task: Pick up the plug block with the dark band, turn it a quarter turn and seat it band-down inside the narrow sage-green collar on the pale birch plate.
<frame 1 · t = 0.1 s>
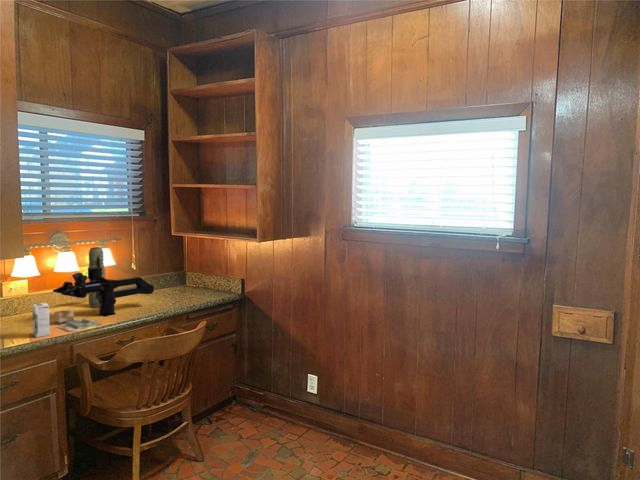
hand: (57, 292, 216), 17 cm above the table, tool horizontal, fingers open, 9 cm apart
plug block: (64, 323, 221), on the table
syrup box: (41, 335, 200), on the table
socket plate: (80, 326, 216), on the table
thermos: (97, 306, 256), on the table
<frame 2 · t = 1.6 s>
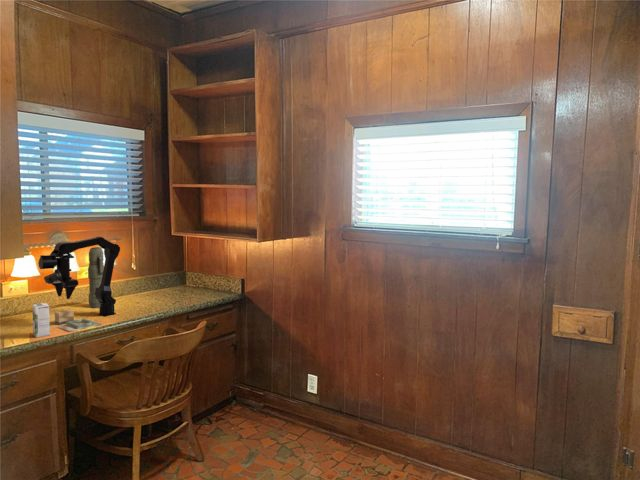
hand: (63, 297, 220), 13 cm above the table, tool pointing down, fingers open, 9 cm apart
nothing on the table moved.
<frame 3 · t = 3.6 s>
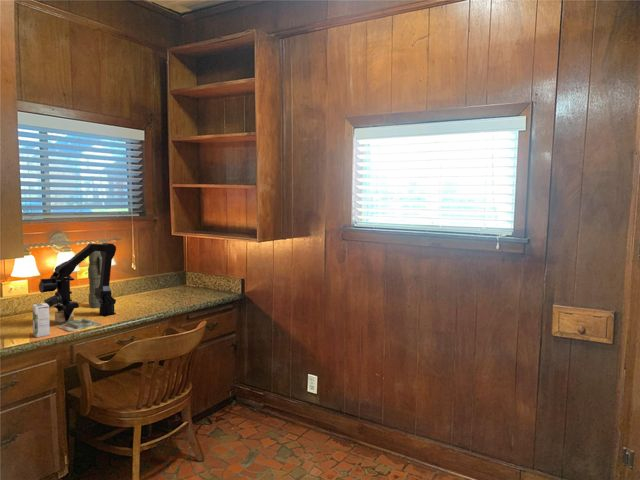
hand: (64, 319, 221), 2 cm above the table, tool pointing down, fingers closed on plug block, 4 cm apart
plug block: (64, 322, 221), on the table, touching gripper
everything else where it was.
when the fingers open (3 cm above the table, at t = 9.0 s): plug block stays where it is, resting on socket plate.
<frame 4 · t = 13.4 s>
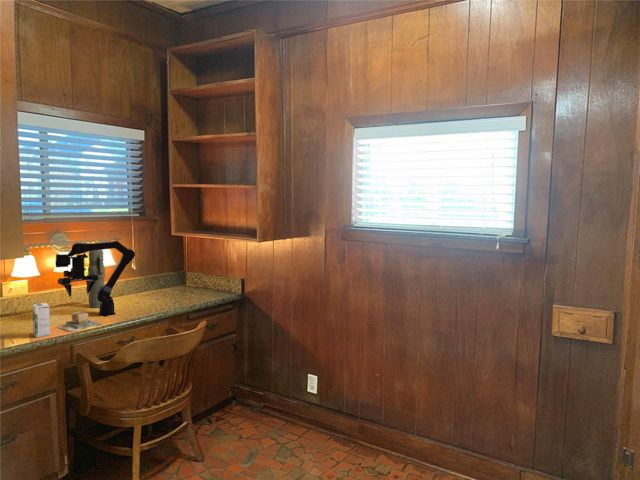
hand: (79, 295, 231), 12 cm above the table, tool pointing down, fingers open, 9 cm apart
plug block: (80, 325, 216), resting on socket plate
everything else where it was.
at the end: plug block 0.1 cm off-centre on the socket plate, point 0.5 cm above the socket plate's base; plug block tilted 0°; the gripper is holding nothing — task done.
